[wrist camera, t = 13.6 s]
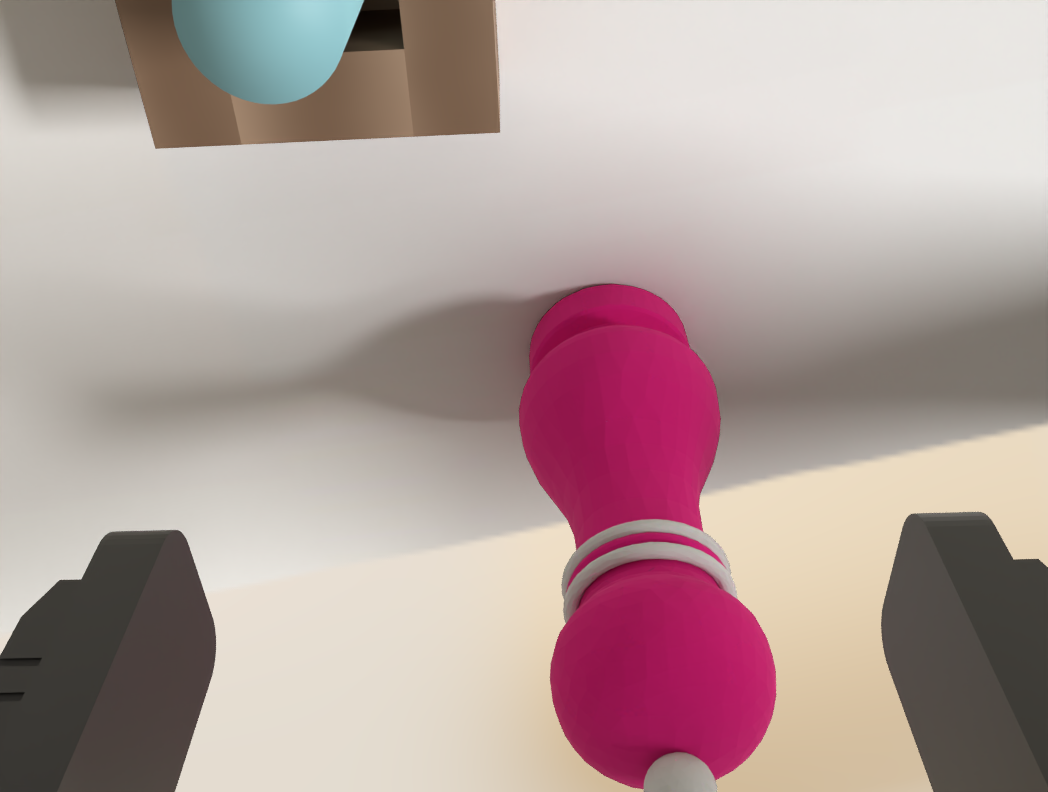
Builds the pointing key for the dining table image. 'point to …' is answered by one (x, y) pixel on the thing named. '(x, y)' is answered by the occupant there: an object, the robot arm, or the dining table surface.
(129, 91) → the dining table surface
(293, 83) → the peg
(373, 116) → the socket block
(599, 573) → the pepper mill
